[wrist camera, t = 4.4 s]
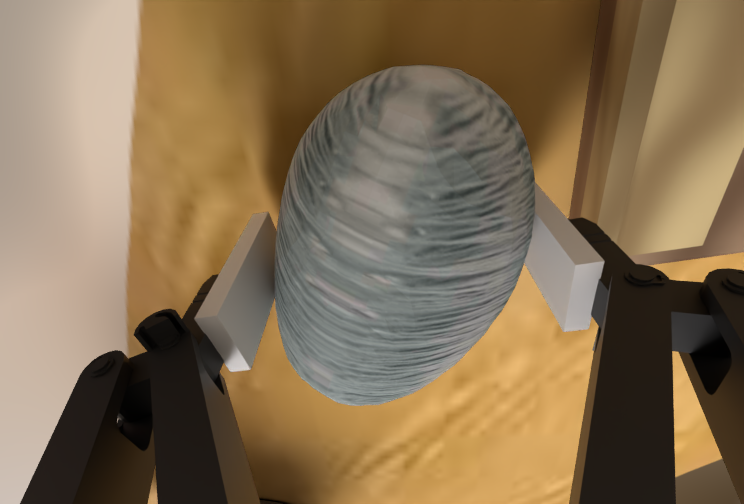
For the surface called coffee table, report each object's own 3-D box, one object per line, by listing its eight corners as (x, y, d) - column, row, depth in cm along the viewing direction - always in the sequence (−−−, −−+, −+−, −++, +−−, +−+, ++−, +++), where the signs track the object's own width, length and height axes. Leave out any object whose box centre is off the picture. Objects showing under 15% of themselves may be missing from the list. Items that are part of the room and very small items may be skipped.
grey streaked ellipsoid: (445, 376, 20) (391, 543, 11) (307, 295, 22) (167, 378, 13) (579, 141, 16) (677, 89, 6) (390, 70, 18) (264, -42, 9)
